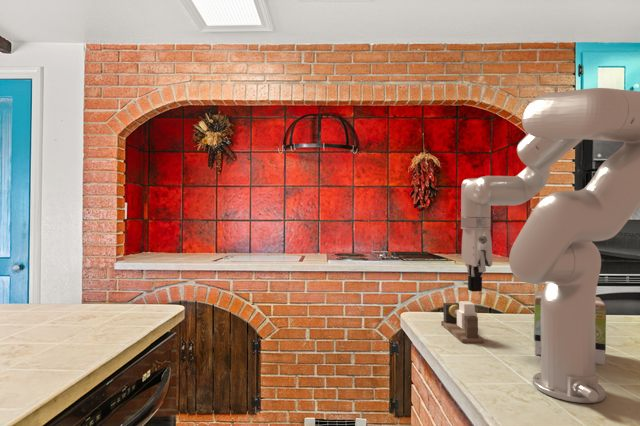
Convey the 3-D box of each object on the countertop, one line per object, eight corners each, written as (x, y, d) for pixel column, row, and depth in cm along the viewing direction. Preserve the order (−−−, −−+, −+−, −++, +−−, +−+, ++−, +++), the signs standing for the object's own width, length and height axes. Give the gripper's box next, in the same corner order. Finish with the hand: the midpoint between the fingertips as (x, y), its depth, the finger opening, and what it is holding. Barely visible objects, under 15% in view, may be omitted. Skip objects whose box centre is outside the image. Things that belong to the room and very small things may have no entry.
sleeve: (477, 328, 113) (477, 304, 113) (461, 328, 113) (461, 304, 113) (471, 324, 117) (471, 301, 117) (456, 324, 117) (456, 301, 117)
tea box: (534, 355, 101) (534, 297, 101) (533, 344, 109) (533, 290, 109) (606, 366, 94) (606, 303, 94) (600, 352, 102) (599, 295, 102)
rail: (483, 342, 111) (483, 316, 111) (462, 342, 111) (462, 316, 111) (459, 324, 129) (459, 301, 129) (441, 324, 129) (441, 302, 129)
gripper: (502, 225, 101) (501, 297, 101) (477, 222, 116) (477, 285, 116) (473, 225, 101) (472, 297, 101) (452, 222, 116) (451, 285, 116)
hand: (474, 290), depth 109 cm, fingers closed
